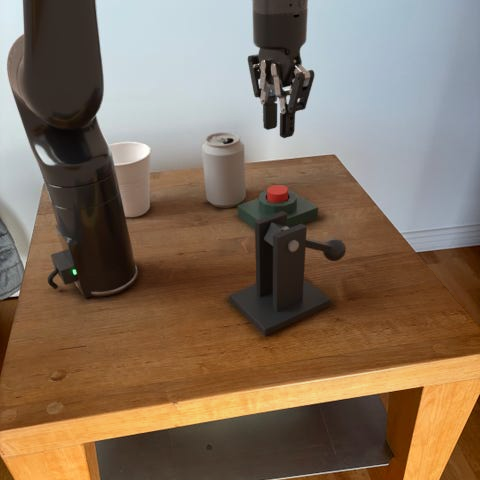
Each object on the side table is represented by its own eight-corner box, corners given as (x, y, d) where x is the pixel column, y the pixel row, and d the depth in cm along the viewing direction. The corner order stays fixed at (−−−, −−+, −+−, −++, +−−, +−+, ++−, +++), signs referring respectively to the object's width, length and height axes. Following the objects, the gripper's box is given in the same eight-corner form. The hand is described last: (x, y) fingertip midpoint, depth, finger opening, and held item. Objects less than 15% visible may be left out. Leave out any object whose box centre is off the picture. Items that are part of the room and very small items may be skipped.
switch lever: (328, 256, 73) (338, 236, 72) (343, 266, 71) (354, 246, 70) (260, 240, 64) (270, 217, 63) (274, 251, 62) (285, 228, 61)
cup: (161, 220, 90) (151, 161, 83) (105, 226, 89) (90, 167, 82) (159, 195, 97) (150, 139, 90) (107, 200, 96) (94, 144, 89)
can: (241, 211, 91) (239, 146, 83) (202, 208, 92) (195, 144, 85) (249, 192, 97) (247, 130, 89) (211, 190, 98) (206, 128, 90)
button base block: (266, 237, 84) (266, 216, 81) (237, 216, 90) (236, 195, 87) (317, 218, 88) (319, 197, 85) (287, 199, 94) (287, 179, 91)
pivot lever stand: (291, 275, 76) (294, 197, 67) (330, 306, 70) (338, 225, 61) (229, 301, 71) (223, 222, 63) (264, 336, 65) (264, 254, 57)
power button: (275, 206, 85) (275, 196, 84) (263, 198, 87) (263, 188, 86) (292, 200, 86) (292, 190, 85) (279, 192, 88) (280, 183, 87)
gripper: (229, 2, 71) (234, 125, 82) (288, 16, 62) (285, 152, 73) (272, -4, 74) (272, 115, 85) (335, 8, 65) (325, 140, 76)
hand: (278, 131), depth 79 cm, fingers open, 4 cm apart
